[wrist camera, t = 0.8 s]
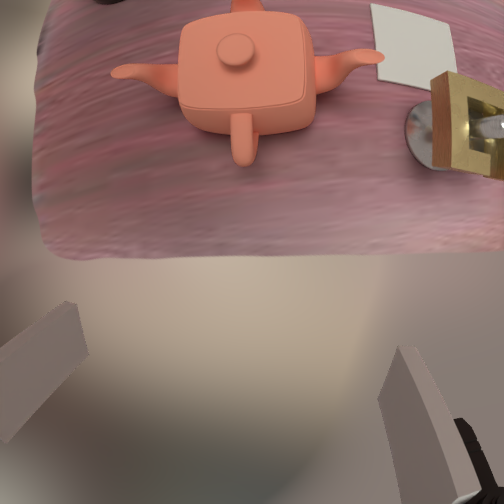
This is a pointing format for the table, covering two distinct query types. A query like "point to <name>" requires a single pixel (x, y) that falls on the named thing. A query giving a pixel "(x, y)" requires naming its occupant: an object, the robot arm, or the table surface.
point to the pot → (248, 74)
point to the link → (464, 125)
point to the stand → (421, 132)
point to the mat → (411, 47)
